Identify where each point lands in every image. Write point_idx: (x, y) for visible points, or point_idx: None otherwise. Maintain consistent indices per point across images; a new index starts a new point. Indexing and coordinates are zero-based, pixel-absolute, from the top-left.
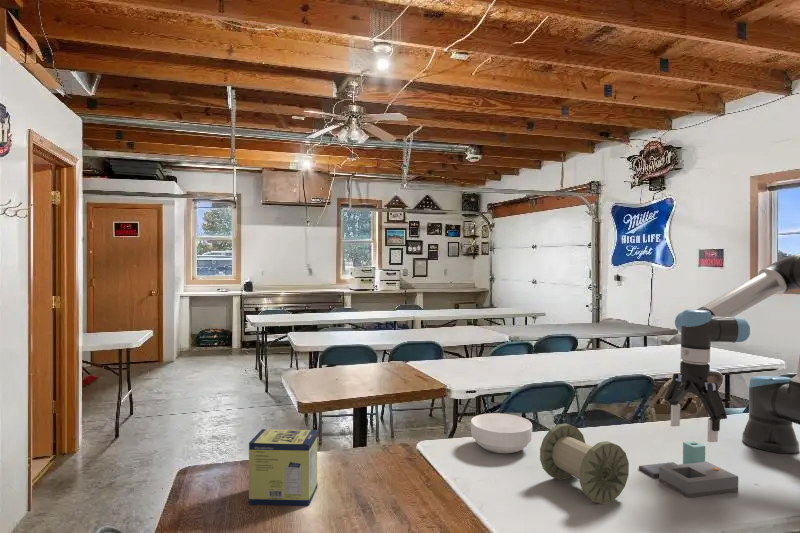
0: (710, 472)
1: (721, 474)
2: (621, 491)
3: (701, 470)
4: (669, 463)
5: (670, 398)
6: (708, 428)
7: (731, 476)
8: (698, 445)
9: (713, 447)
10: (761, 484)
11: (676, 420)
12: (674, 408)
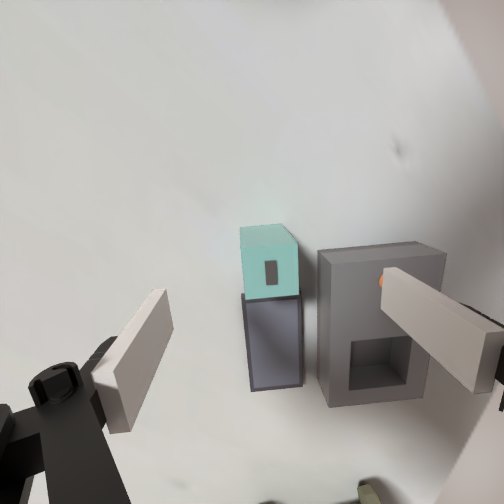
0: None
1: None
2: (372, 488)
3: (379, 324)
4: (250, 315)
5: (29, 467)
6: (425, 345)
7: (438, 273)
8: (286, 265)
9: (80, 3)
10: (406, 132)
11: (161, 325)
12: (136, 397)
